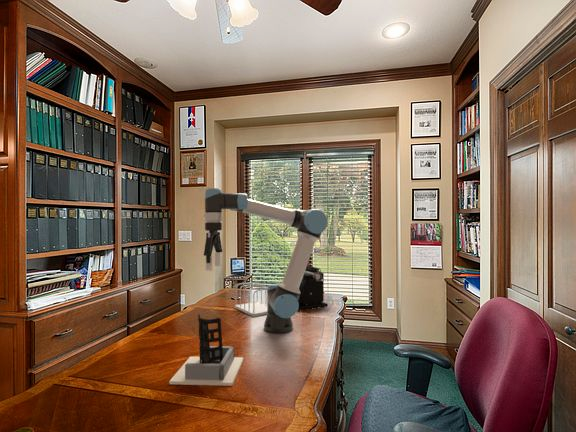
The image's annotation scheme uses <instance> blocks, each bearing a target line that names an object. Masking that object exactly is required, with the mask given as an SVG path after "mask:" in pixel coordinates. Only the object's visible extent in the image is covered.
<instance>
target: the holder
mask: <svg viewBox="0 0 576 432" xmlns="http://www.w3.org/2000/svg"><path fill="white" fill-rule="evenodd" d="M197 319H198V339H199V344H198V345H199V357H200V363H204V364H220V363H221V361H222V360H223V347H222V346H223V336H222V335H223V334H222V333H223V332H222V320H221V318H220V317H218V318H212V319H211V318H210V319H205V318H202V317H201V314H200V313H199V314H198V315H197ZM210 324H211V325H212V324H217V328H213V329H212V328H211V329H210V328H209V325H210ZM215 333H217V335H218V337H215ZM216 342H218V345H217V346H218V347H213V348H210V346H211V345H210V343H216ZM217 350H219V353H220V355H218V356H215V351H217ZM210 352H211V354H212V357H211V356H210ZM218 359H220V361H216V360H218ZM201 360H202V362H201Z"/></svg>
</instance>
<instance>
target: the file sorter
mask: <svg viewBox="0 0 576 432" xmlns="http://www.w3.org/2000/svg"><path fill="white" fill-rule="evenodd" d="M239 286H240V288H239V304H238V287H239ZM243 287H245V288H244V289H243V303H242V298H241V296H242V293H241V291H242V288H243ZM267 287H268V285H265V284H261V283H259V282H256V281H251V282H250V281H249V282H242V283H238V284H236V286H235V305H234V309H236V310H239V311H240V312H243V313H245V314H246V315H249V316H250V317H254V318H255V317H258V316H264V315H265V316H266V315H267V304H266V303H263V292H262V291H264V298H265V301H264V302H267ZM247 289H249V291H248V302H247V303H246V293H245V292H246V290H247ZM252 290H254V291H253V295H252V297H253V301H252V302H251V301H250V293H251V291H252ZM259 291H260V301H259V300H258V297H259V296H258V292H259ZM255 293H256V301H255Z"/></svg>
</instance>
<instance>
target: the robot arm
mask: <svg viewBox="0 0 576 432" xmlns="http://www.w3.org/2000/svg"><path fill="white" fill-rule="evenodd" d="M204 195H205V196H204V212H205V213H204V215H203V217H204V221H205V222H204V227H205V228H204V230H205V231H207V232H206V233H205V234H206V235H205V236H206V238H205V243H204V251H203V256H205V271H207V272H209V271H210V272H211V271H213V255H212V253H213V250H214V251H215V252H214V267H221V259H222V258H221V254H222V253H223V248H222V247H223V246H222V241H221V232H220V231H222V229H223V228H222V227H223V226H222V225H223V223H222V221H223V211H222V210H230V211H232V212H238V213H243V214H248V215H250V216H251V215H252V216H256V217H260V218H263V219H266V220H267V219H268V220H272V221H275V222H279V223H284V224H287V225H288V226H289V227H291V228H295V229H296V230H297V231H296V233H297V234H298V237H297V240H296V242H295V246H294V247H293V251H292V254H291V256H290V259H289V261H288V265H287V267H286V270H285V274H284V276H283V279H282V282H280V283H277V284H276V283H275V284H269V285H267V286H268V287H266V289H267V290H266V305H267V314H266V317H265V320H264V322H263V323H264V324H263V329H264V331H265V332H267V333H272V334H285V333H289V332H291V331H293V329H294V324H293V320H292V317H294V316H295V315H296V314H297V313H298V311H297V310H298V307H299V303H298V299H299V296H300V290H299V286H300V283H301V281H302V278H303V275H304V272H305V269H306V266H308V263H309V260H310V257H311V255H312V252H313V249H314V246H315V243H316V242H317V241H320V238H321V236H322V233H323V232H325V230H326V229H327V228H328V222H329V221H328V217H327V215H326V213H325V212H323V211H322V210H321V209H317V208H311V209H296V208H293V209H289V208H286V207H281V206H277V205H274V204H269V203H265V202H261V201H257V200H253V199H250V198H249V197H248V194H247V193H244V192H243V193H242V192H239V193H237V192H235V193H234V192H232V193H231V192H227V193H226V192H223V191H222V189H221V188H216V187H211V188H209V187H208V188H206V189H205V192H204Z"/></svg>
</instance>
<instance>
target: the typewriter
mask: <svg viewBox="0 0 576 432" xmlns="http://www.w3.org/2000/svg"><path fill="white" fill-rule="evenodd" d="M324 278H325V277H324V272H323V271H321V268H320V267H319V268H318V267H315V266H311V265H307V266H306V269H305V272H304V275H303V278H302V281H301V283H300V286H299V290H300V296H299V299H298V303H299V307H298V310H297V312H301V311H300V310H303V311H307V310H306V309H310V310H313V309H312V308H316V309H319V308H318V307H322V308H325V307H324V306H328V305H329V303H326V302H324V301H325V300H324V295H325V294H324ZM328 307H329V306H328Z"/></svg>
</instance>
